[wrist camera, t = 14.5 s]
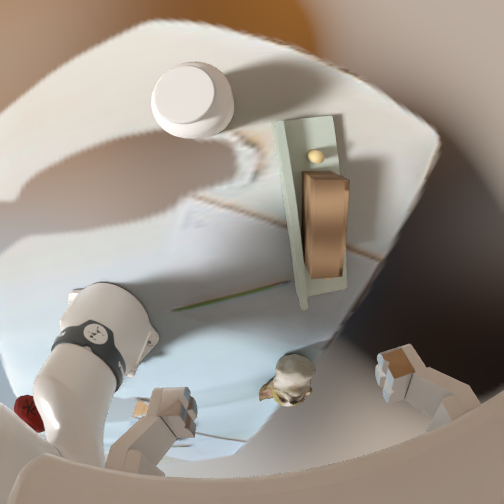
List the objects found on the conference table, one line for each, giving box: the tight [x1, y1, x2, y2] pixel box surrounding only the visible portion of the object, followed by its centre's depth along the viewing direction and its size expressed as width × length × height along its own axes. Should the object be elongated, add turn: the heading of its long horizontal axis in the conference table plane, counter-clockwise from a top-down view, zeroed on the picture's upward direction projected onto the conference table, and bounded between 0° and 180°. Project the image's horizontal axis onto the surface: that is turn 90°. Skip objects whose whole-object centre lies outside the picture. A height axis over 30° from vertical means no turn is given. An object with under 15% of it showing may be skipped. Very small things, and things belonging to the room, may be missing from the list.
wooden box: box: [301, 171, 349, 279], centre depth 35 cm, size 12×4×7 cm, turn 3°
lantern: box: [14, 395, 45, 433], centre depth 40 cm, size 10×10×30 cm
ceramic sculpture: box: [259, 354, 316, 406], centre depth 50 cm, size 11×9×15 cm
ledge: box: [270, 116, 347, 310], centre depth 38 cm, size 26×8×5 cm, turn 10°
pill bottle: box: [151, 62, 234, 138], centre depth 27 cm, size 8×8×15 cm
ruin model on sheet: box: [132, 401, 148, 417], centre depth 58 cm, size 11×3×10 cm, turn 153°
